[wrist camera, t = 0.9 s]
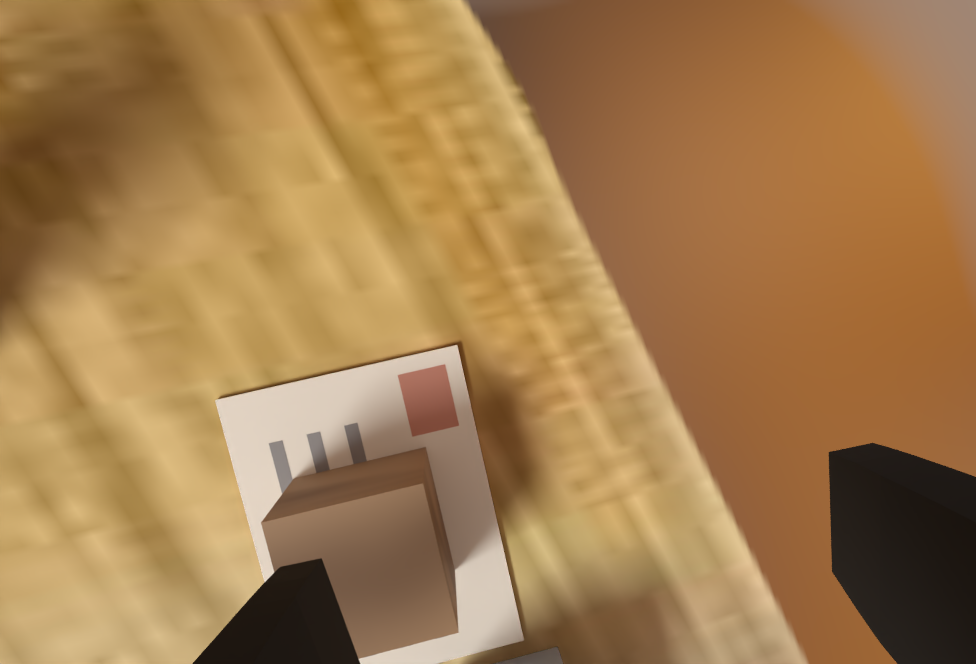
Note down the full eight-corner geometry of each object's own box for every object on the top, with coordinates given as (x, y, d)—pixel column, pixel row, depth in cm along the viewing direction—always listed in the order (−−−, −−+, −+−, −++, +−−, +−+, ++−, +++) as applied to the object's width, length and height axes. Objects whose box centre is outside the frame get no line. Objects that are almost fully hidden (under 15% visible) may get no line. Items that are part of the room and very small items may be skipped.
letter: (523, 638, 23) (524, 640, 23) (297, 697, 22) (296, 700, 22) (457, 344, 22) (457, 344, 22) (216, 399, 21) (215, 400, 21)
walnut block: (454, 570, 22) (458, 632, 18) (326, 602, 22) (301, 673, 18) (425, 446, 22) (423, 483, 18) (293, 478, 21) (260, 522, 17)
